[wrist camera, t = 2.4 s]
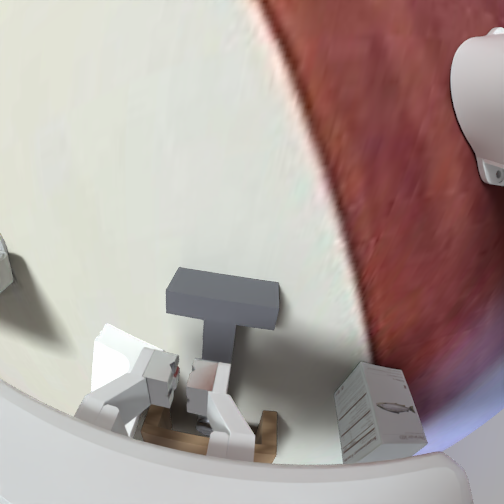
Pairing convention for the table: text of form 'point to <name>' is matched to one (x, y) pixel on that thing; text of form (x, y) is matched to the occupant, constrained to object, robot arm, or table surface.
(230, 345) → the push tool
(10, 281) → the network device
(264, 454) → the bench
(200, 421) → the disc
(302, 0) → the table surface
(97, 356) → the white piece
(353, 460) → the supplement box
